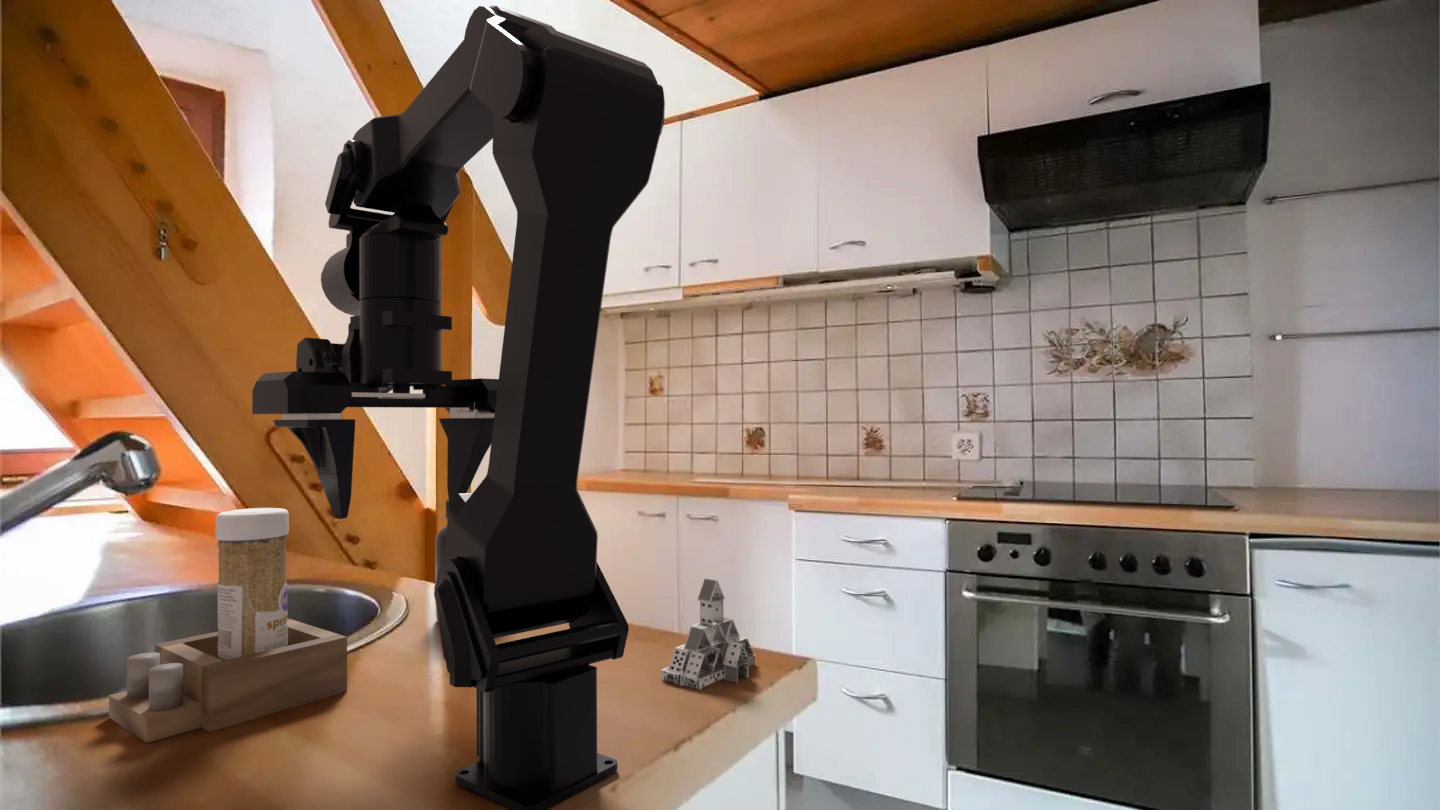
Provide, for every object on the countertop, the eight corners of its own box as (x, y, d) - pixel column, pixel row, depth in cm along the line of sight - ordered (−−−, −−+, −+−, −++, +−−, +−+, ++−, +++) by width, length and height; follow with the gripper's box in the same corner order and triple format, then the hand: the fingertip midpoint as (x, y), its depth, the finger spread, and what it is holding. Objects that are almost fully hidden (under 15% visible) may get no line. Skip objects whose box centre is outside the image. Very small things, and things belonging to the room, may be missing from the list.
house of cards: (738, 721, 52) (737, 605, 52) (643, 692, 58) (643, 587, 58) (810, 684, 59) (809, 582, 59) (719, 662, 65) (719, 568, 65)
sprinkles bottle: (292, 699, 56) (291, 510, 56) (216, 713, 54) (216, 515, 54) (286, 681, 60) (285, 504, 60) (214, 693, 57) (214, 509, 57)
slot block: (347, 691, 57) (347, 636, 58) (154, 748, 48) (154, 682, 48) (286, 667, 63) (286, 617, 63) (102, 713, 54) (103, 654, 54)
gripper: (446, 322, 71) (447, 495, 71) (218, 299, 56) (217, 517, 56) (527, 312, 65) (527, 502, 64) (291, 282, 50) (291, 530, 49)
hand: (401, 511), depth 59 cm, fingers open, 9 cm apart
